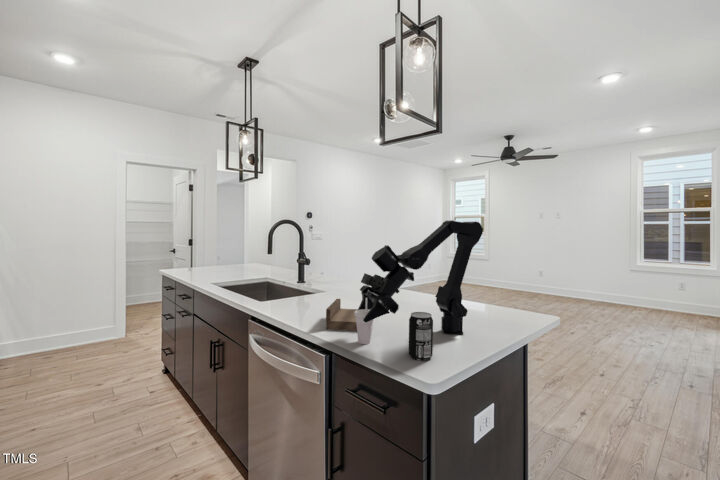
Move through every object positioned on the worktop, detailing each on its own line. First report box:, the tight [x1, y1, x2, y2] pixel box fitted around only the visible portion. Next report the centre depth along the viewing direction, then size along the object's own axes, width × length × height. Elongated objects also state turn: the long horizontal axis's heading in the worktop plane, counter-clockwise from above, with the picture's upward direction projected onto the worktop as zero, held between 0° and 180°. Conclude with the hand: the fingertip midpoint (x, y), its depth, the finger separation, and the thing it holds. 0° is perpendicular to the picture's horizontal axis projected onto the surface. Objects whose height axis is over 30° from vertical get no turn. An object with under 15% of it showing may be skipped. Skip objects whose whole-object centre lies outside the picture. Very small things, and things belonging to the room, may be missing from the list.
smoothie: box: [354, 298, 374, 345], centre depth 105 cm, size 6×6×14 cm
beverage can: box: [408, 311, 434, 361], centre depth 93 cm, size 7×7×12 cm
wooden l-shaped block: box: [325, 298, 358, 332], centre depth 126 cm, size 14×18×7 cm
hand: (360, 318), depth 104 cm, fingers closed on smoothie, 6 cm apart
